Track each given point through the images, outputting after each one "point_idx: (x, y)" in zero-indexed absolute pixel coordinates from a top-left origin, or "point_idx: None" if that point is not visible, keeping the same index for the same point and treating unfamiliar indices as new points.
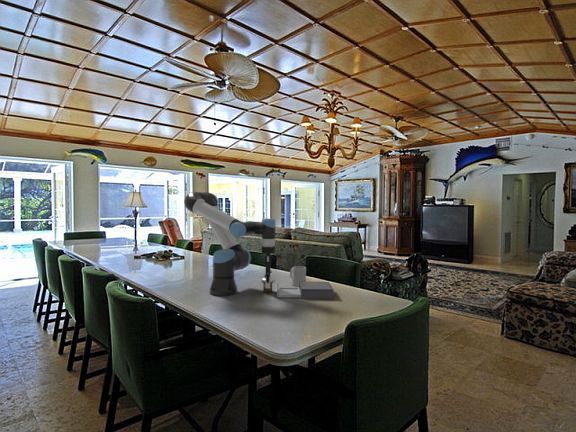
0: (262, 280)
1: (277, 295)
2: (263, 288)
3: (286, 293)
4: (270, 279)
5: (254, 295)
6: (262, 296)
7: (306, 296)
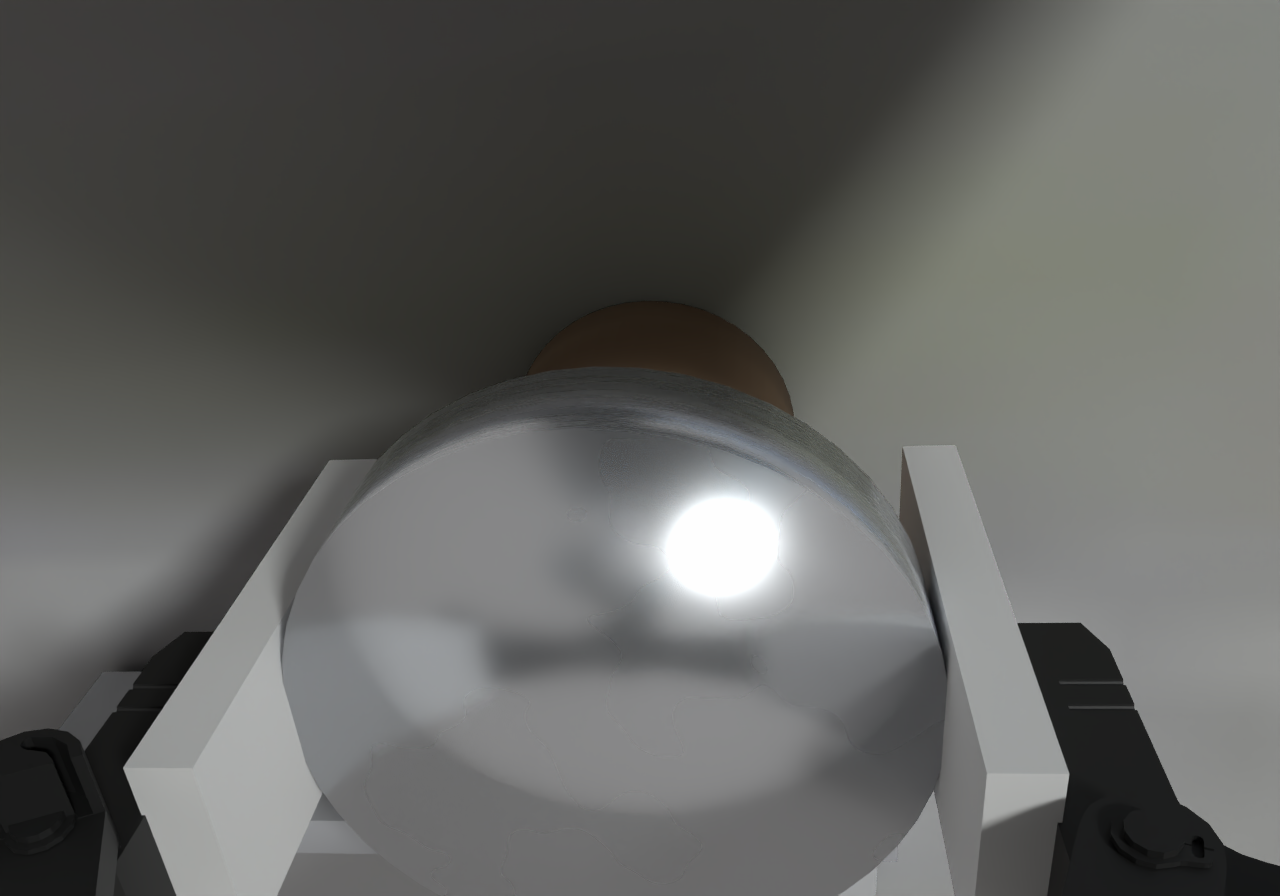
0: (355, 499)
1: (83, 714)
2: (587, 359)
3: (365, 877)
4: (453, 811)
5: (156, 53)
6: (125, 318)
7: None
